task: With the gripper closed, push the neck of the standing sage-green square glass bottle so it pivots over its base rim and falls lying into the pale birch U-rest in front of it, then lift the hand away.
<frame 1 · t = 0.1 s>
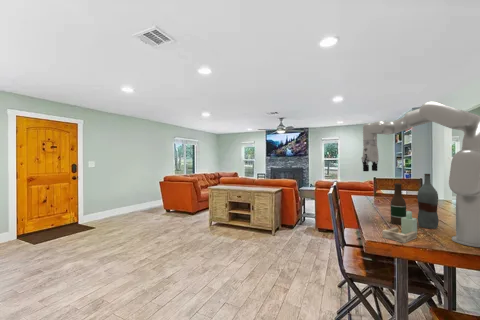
hand: (370, 171, 143), 31 cm above the table, tool pointing down, fingers open, 9 cm apart
beer bottle: (398, 224, 137), on the table
bottle: (409, 233, 119), on the table
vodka: (427, 227, 131), on the table
cradle: (400, 236, 114), on the table
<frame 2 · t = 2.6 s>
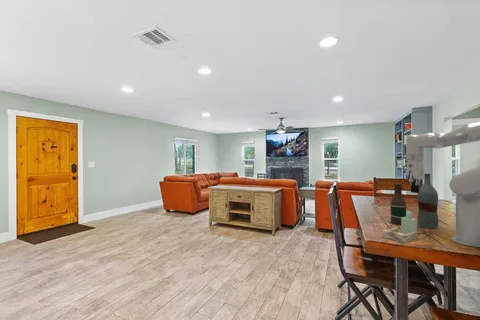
hand: (414, 192, 123), 21 cm above the table, tool pointing down, fingers closed
nothing on the table moved.
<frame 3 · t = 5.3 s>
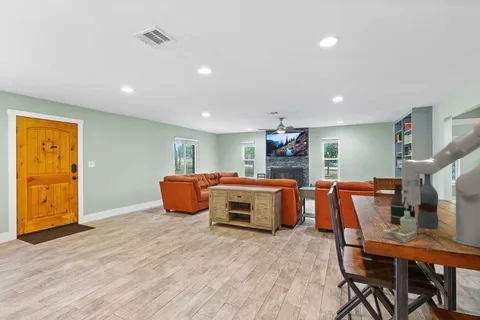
hand: (410, 218, 120), 7 cm above the table, tool pointing down, fingers closed
bottle: (409, 232, 119), on the table, tilted 11°
everything else where it was.
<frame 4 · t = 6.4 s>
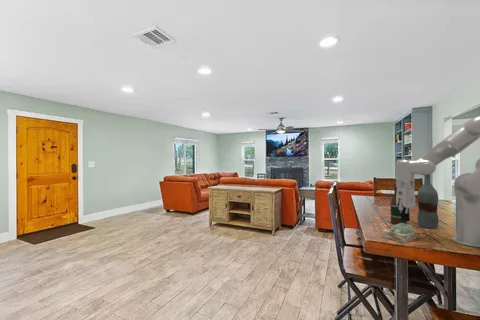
hand: (405, 220, 117), 7 cm above the table, tool pointing down, fingers closed
bottle: (407, 228, 117), point 3 cm above the table, tilted 90°, touching cradle
everything else where it was.
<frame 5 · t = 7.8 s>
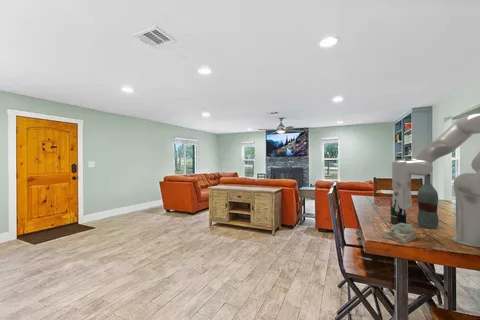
hand: (401, 222, 114), 7 cm above the table, tool pointing down, fingers closed
nothing on the table moved.
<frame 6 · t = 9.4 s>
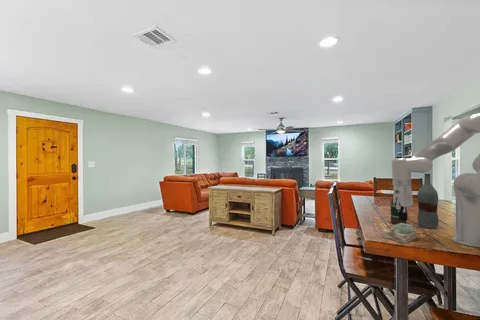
hand: (403, 220, 114), 8 cm above the table, tool pointing down, fingers closed
nothing on the table moved.
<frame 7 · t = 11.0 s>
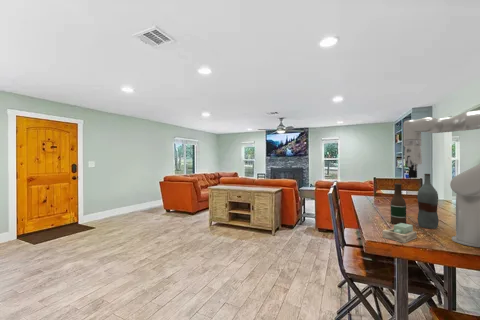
hand: (412, 177, 123), 28 cm above the table, tool pointing down, fingers closed
nothing on the table moved.
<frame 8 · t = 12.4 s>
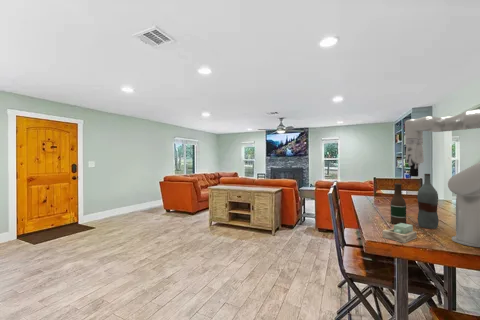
hand: (414, 176, 124), 29 cm above the table, tool pointing down, fingers closed
nothing on the table moved.
at the end: bottle tilted 90°; bottle inside the target area on the cradle (0.1 cm from its centre), point 2.9 cm above the cradle's base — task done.
